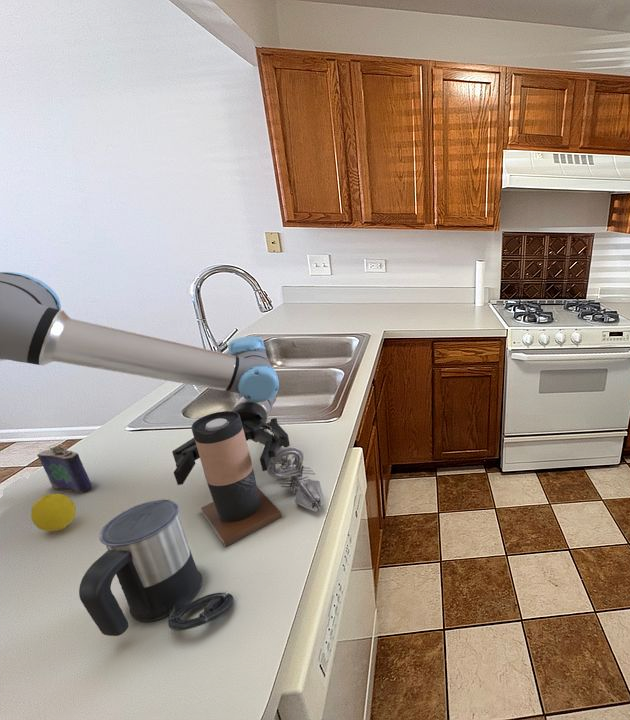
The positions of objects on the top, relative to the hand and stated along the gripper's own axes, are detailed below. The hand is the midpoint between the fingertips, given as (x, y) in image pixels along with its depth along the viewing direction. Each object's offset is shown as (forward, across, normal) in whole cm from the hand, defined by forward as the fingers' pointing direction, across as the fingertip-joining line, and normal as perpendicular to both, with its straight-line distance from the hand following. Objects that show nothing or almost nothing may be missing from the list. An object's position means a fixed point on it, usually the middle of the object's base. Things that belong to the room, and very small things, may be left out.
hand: (221, 471), depth 71 cm
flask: (-24, +37, -13) cm, 46 cm away
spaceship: (-14, -7, -13) cm, 20 cm away
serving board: (-3, 0, -13) cm, 13 cm away
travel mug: (-3, 0, -12) cm, 12 cm away
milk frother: (+15, +4, -13) cm, 20 cm away
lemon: (-9, +32, -13) cm, 36 cm away
